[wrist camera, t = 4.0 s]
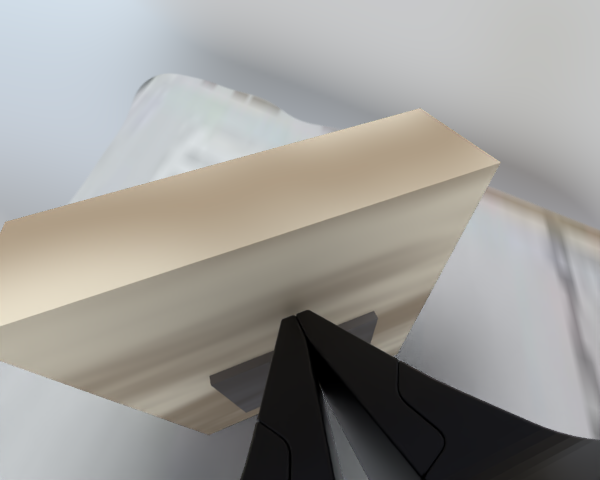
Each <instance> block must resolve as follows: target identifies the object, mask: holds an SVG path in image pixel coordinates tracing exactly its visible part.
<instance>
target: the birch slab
mask: <svg viewBox="0 0 600 480" xmlns="http://www.w3.org/2000/svg"><path fill="white" fill-rule="evenodd" d="M499 165H500V162H499V161H498V160H496V159H495V158H493V157H492V156H490V155H489V154H487V153H486V152H484V151H483V150H481V149H480V148H478V147H477V146H475V145H474V144H472V143H471V142H469V141H468V140H466V139H465V138H463V137H462V136H461V135H459V134H457V133H456V132H455V131H453V130H452V129H450V128H449V127H447V126H445V125H444V124H443V123H441V122H440V121H438V120H437V119H435V118H434V117H432V116H431V115H429V114H428V113H426V112H425V111H423V110H422V109H421V108H419V109H416V110H412V111H409V112H405V113H401V114H398V115H394V116H391V117H387V118H383V119H379V120H376V121H372V122H368V123H365V124H362V125H358V126H354V127H350V128H346V129H343V130H339V131H335V132H332V133H328V134H325V135H321V136H317V137H314V138H310V139H306V140H303V141H299V142H295V143H292V144H288V145H284V146H281V147H277V148H273V149H270V150H266V151H262V152H259V153H255V154H251V155H248V156H244V157H241V158H237V159H233V160H230V161H226V162H222V163H219V164H215V165H211V166H208V167H204V168H200V169H197V170H193V171H189V172H186V173H182V174H178V175H175V176H171V177H168V178H164V179H160V180H157V181H153V182H149V183H146V184H142V185H138V186H135V187H131V188H127V189H124V190H120V191H116V192H113V193H109V194H105V195H102V196H98V197H94V198H91V199H87V200H84V201H80V202H76V203H73V204H69V205H65V206H62V207H58V208H54V209H51V210H47V211H44V212H40V213H36V214H32V215H29V216H25V217H21V218H18V219H14V220H11V221H7V222H5V224H4V226H3V228H2V230H1V233H0V361H1V362H4V363H7V364H10V365H13V366H16V367H18V368H21V369H24V370H27V371H30V372H32V373H35V374H38V375H41V376H44V377H46V378H49V379H52V380H55V381H58V382H61V383H63V384H66V385H69V386H72V387H75V388H77V389H80V390H83V391H86V392H89V393H92V394H94V395H97V396H100V397H103V398H106V399H108V400H111V401H114V402H117V403H120V404H123V405H125V406H128V407H131V408H134V409H137V410H139V411H142V412H145V413H148V414H151V415H154V416H156V417H159V418H162V419H165V420H168V421H170V422H173V423H176V424H179V425H182V426H184V427H187V428H190V429H193V430H196V431H199V432H201V433H204V434H207V435H210V434H213V433H215V432H217V431H220V430H222V429H224V428H227V427H229V426H231V425H234V424H236V423H238V422H241V421H243V420H245V419H248V418H250V417H252V416H255V415H257V414H258V413H259V409H260V405H261V401H262V397H263V393H264V389H265V385H266V381H267V376H268V372H269V368H270V364H271V360H272V356H273V352H274V348H275V344H276V339H277V335H278V331H279V327H280V323H281V320H282V319H284V318H286V317H289V316H292V315H295V316H296V314H297V313H300V312H302V311H305V310H311V311H312V312H314V313H316V314H318V315H319V316H321V317H323V318H325V319H327V320H328V321H330V322H332V323H334V324H336V325H337V326H339V327H341V328H343V329H345V330H346V331H348V332H350V333H352V334H354V335H355V336H357V337H359V338H361V339H362V340H364V341H366V342H368V343H370V344H371V345H373V346H375V347H377V348H379V349H380V350H382V351H384V352H386V353H388V354H389V355H391V356H394V355H397V354H398V352H399V350H400V348H401V347H402V345H403V343H404V341H405V339H406V337H407V335H408V334H409V332H410V330H411V328H412V326H413V324H414V322H415V321H416V319H417V317H418V315H419V313H420V311H421V309H422V308H423V306H424V304H425V302H426V300H427V298H428V296H429V295H430V293H431V291H432V289H433V287H434V285H435V283H436V282H437V280H438V278H439V276H440V274H441V272H442V270H443V269H444V267H445V265H446V263H447V261H448V259H449V257H450V256H451V254H452V252H453V250H454V248H455V246H456V244H457V243H458V241H459V239H460V237H461V235H462V233H463V232H464V230H465V228H466V226H467V224H468V222H469V220H470V219H471V217H472V215H473V213H474V211H475V209H476V207H477V206H478V204H479V202H480V200H481V198H482V196H483V194H484V193H485V191H486V189H487V187H488V185H489V183H490V181H491V179H492V178H493V176H494V174H495V172H496V170H497V168H498V167H499Z"/></svg>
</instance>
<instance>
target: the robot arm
mask: <svg viewBox="0 0 600 480" xmlns="http://www.w3.org/2000/svg"><path fill="white" fill-rule="evenodd" d="M321 389H322V391H323V393H324V395H325V397H326V399H327V401H328V403H329V405H330V407H331V409H332V411H333V413H334V415H335V416H336V418H337V420H338V422H339V424H340V426H341V428H342V430H343V432H344V434H345V435H346V437H347V439H348V441H349V443H350V445H351V447H352V449H353V451H354V452H355V454H356V456H357V458H358V460H359V462H360V464H361V466H362V468H363V470H364V471H365V473H366V475H367V477H368V479H369V480H600V440H596V439H587V438H582V437H577V436H572V435H568V434H564V433H561V432H557V431H554V430H551V429H548V428H545V427H543V426H540V425H538V424H535V423H533V422H530V421H528V420H526V419H523V418H521V417H519V416H517V415H514V414H512V413H510V412H507V411H505V410H503V409H501V408H498V407H496V406H494V405H491V404H489V403H487V402H485V401H482V400H480V399H478V398H475V397H473V396H471V395H469V394H466V393H464V392H462V391H459V390H457V389H455V388H453V387H451V386H449V385H447V384H444V383H442V382H440V381H438V380H436V379H434V378H432V377H430V376H428V375H426V374H424V373H422V372H420V371H419V370H417V369H415V368H413V367H411V366H409V365H408V364H406V363H404V362H402V361H400V362H399V360H398V359H397V358H395V357H393V356H391V355H389V354H388V353H386V352H384V351H382V350H380V349H379V348H377V347H375V346H373V345H371V344H370V343H368V342H366V341H364V340H362V339H361V338H359V337H357V336H355V335H354V334H352V333H350V332H348V331H346V330H345V329H343V328H341V327H339V326H337V325H336V324H334V323H332V322H330V321H328V320H327V319H325V318H323V317H321V316H319V315H318V314H316V313H314V312H312V311H311V310H305V311H302V312H300V313H297V314H296V316H295V315H292V316H289V317H286V318H284V319H282V320H281V323H280V327H279V331H278V335H277V339H276V344H275V348H274V352H273V356H272V360H271V364H270V368H269V372H268V376H267V381H266V385H265V389H264V393H263V397H262V401H261V405H260V409H259V413H258V418H257V423H256V425H255V429H254V433H253V438H252V441H251V445H250V449H249V452H248V456H247V460H246V463H245V467H244V470H243V473H242V476H241V479H240V480H344V478H343V474H342V470H341V466H340V462H339V458H338V454H337V450H336V446H335V442H334V438H333V434H332V430H331V426H330V422H329V418H328V414H327V410H326V406H325V402H324V398H323V394H322V391H321Z"/></svg>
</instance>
